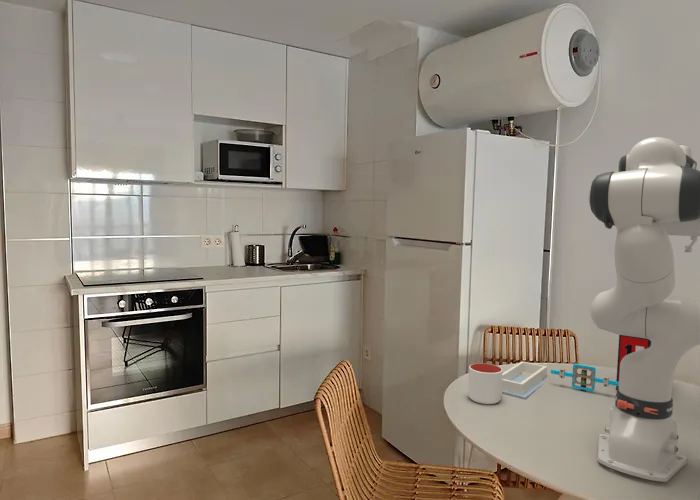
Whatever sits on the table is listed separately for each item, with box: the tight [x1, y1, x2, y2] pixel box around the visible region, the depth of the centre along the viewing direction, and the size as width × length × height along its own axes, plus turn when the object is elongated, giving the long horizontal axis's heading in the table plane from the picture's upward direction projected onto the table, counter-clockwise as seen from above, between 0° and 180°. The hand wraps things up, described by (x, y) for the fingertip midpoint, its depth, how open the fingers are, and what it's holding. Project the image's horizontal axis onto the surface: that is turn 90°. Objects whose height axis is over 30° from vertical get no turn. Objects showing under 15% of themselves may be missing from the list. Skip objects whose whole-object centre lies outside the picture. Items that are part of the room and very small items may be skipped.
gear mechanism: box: [550, 363, 619, 392], centre depth 160 cm, size 20×5×9 cm, turn 55°
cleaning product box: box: [615, 335, 651, 392], centre depth 163 cm, size 16×9×20 cm, turn 139°
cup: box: [467, 362, 504, 405], centre depth 152 cm, size 10×10×10 cm
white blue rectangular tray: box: [502, 361, 548, 400], centre depth 166 cm, size 27×12×4 cm, turn 141°
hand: (668, 251), depth 142 cm, fingers open, 8 cm apart
